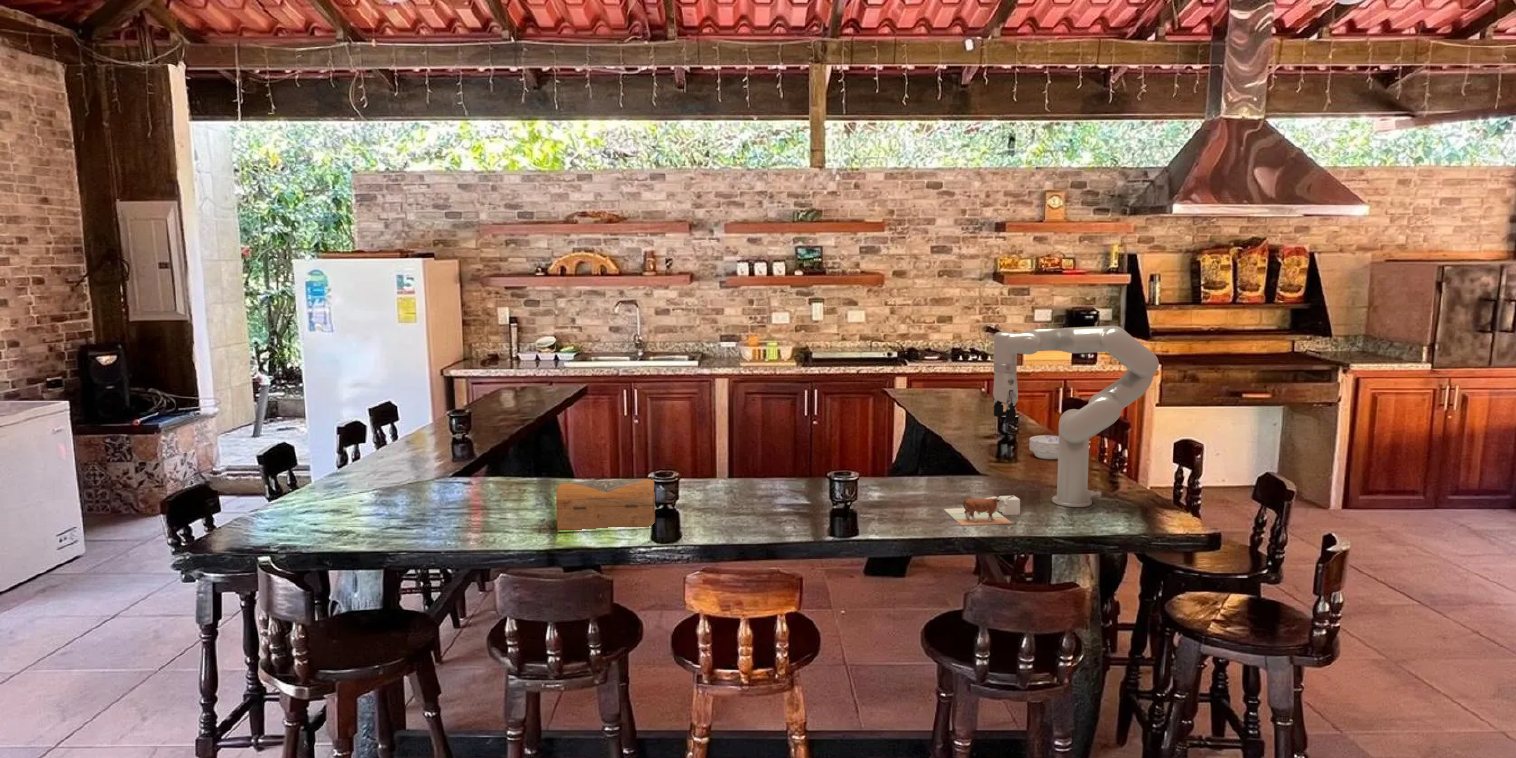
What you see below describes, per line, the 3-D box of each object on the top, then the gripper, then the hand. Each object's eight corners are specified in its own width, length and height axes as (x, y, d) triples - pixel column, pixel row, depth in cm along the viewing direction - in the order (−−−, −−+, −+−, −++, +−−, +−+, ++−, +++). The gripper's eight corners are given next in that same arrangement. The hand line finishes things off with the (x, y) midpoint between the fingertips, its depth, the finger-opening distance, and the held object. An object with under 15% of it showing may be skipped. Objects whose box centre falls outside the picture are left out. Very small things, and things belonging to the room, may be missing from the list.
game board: (990, 508, 289) (990, 506, 289) (1011, 523, 272) (1011, 522, 272) (943, 510, 288) (943, 508, 288) (961, 525, 270) (961, 524, 270)
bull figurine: (1007, 523, 271) (1008, 497, 270) (963, 522, 272) (963, 496, 271) (1005, 519, 275) (1006, 494, 274) (961, 518, 277) (962, 493, 276)
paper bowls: (1022, 458, 362) (1023, 439, 361) (1037, 451, 373) (1038, 433, 372) (1059, 463, 352) (1059, 443, 351) (1073, 456, 364) (1074, 437, 363)
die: (1013, 510, 287) (1014, 495, 286) (1019, 514, 282) (1020, 499, 281) (998, 511, 286) (999, 495, 285) (1004, 515, 281) (1005, 500, 281)
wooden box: (656, 514, 287) (654, 473, 286) (655, 529, 271) (654, 486, 269) (563, 518, 284) (561, 477, 283) (556, 534, 268) (554, 490, 266)
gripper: (1027, 371, 287) (1026, 422, 289) (1004, 365, 304) (1004, 414, 306) (1005, 371, 286) (1004, 423, 288) (984, 366, 303) (983, 414, 305)
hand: (1004, 418), depth 297 cm, fingers open, 9 cm apart
